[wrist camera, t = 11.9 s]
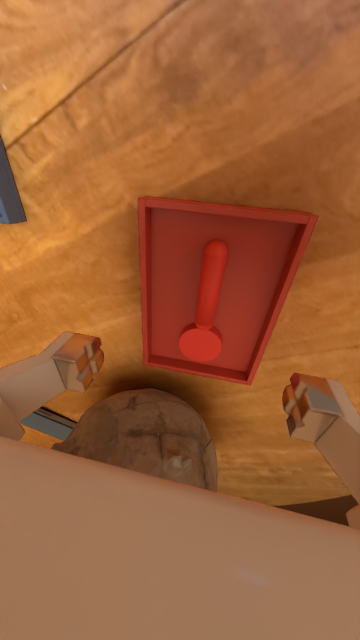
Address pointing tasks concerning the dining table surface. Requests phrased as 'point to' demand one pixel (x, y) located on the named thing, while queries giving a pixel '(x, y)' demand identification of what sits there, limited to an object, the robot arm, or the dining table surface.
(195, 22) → the dining table surface
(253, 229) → the red tray
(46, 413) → the smartphone
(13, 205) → the blue tray
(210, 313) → the red spoon
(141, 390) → the bowl
